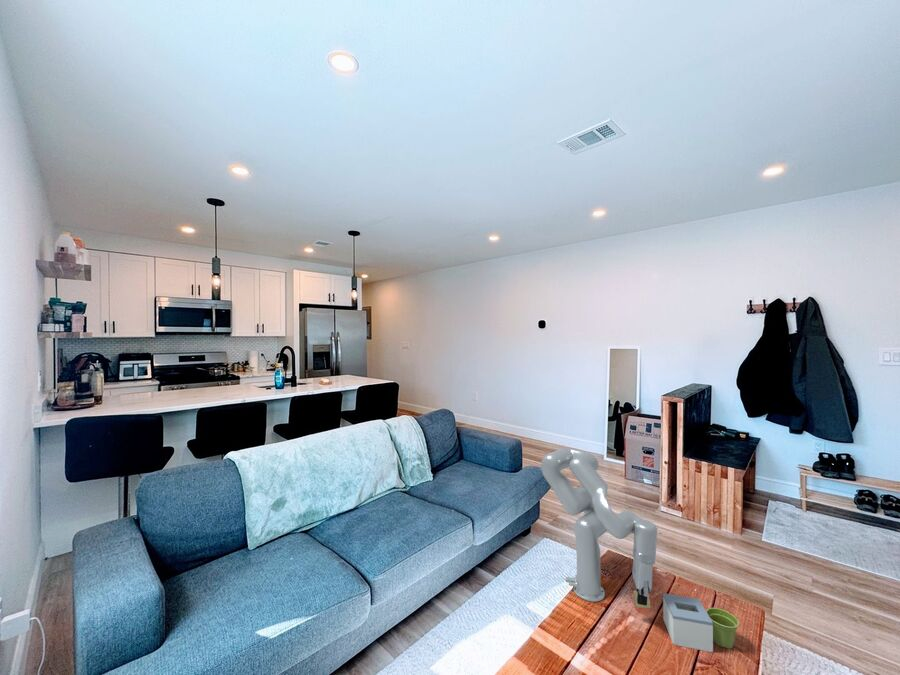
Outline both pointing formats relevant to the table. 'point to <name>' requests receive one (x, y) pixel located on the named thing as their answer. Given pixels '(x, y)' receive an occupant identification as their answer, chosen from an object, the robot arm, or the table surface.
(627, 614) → the table surface
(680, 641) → the grey slotted box
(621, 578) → the table surface
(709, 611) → the plant pot
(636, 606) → the block
